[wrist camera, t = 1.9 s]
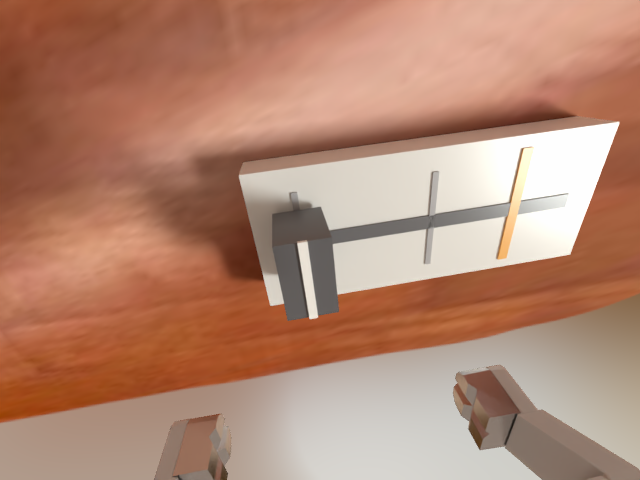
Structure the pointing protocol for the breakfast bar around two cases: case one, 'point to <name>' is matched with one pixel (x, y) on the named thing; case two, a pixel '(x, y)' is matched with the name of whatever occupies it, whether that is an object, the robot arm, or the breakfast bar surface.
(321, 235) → the fader knob
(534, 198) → the fader console
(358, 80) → the breakfast bar surface
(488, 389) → the robot arm
